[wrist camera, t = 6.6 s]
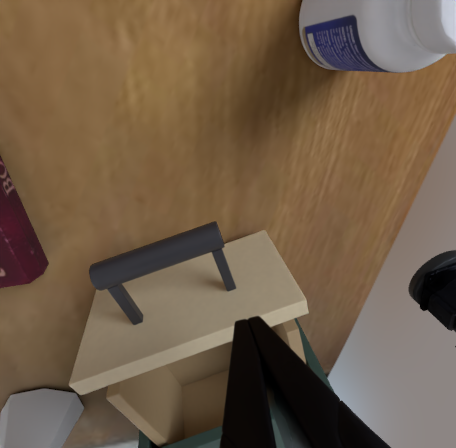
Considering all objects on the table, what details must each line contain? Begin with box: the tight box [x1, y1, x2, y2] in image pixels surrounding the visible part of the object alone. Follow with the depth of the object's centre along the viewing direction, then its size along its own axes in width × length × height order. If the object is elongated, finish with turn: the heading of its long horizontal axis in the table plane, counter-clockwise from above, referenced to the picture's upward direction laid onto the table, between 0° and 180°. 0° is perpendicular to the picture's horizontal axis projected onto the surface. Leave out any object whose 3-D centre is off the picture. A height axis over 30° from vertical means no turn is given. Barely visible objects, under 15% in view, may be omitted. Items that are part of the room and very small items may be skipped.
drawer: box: [69, 221, 309, 448], centre depth 20 cm, size 19×13×7 cm
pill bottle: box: [299, 0, 456, 73], centre depth 12 cm, size 5×5×9 cm
